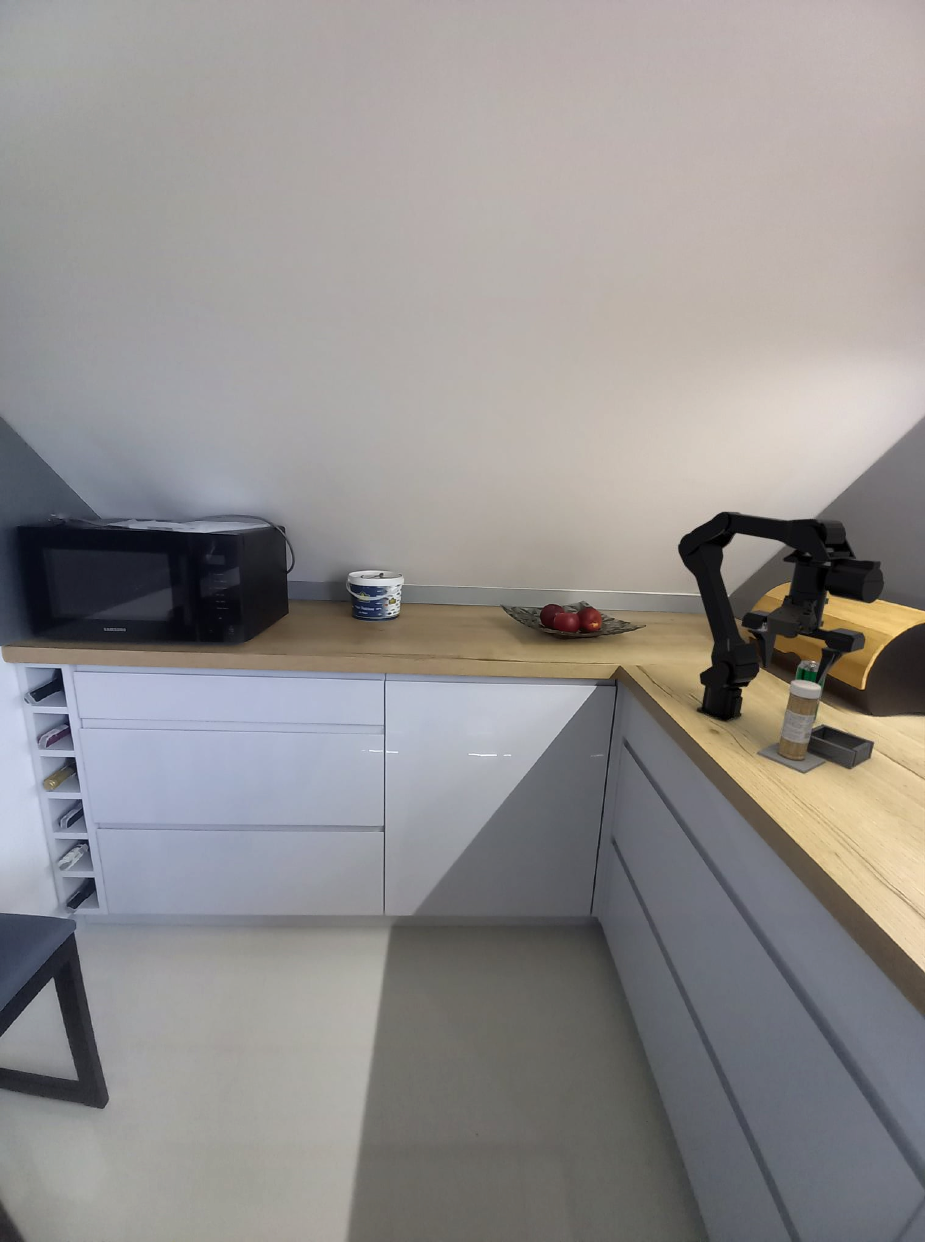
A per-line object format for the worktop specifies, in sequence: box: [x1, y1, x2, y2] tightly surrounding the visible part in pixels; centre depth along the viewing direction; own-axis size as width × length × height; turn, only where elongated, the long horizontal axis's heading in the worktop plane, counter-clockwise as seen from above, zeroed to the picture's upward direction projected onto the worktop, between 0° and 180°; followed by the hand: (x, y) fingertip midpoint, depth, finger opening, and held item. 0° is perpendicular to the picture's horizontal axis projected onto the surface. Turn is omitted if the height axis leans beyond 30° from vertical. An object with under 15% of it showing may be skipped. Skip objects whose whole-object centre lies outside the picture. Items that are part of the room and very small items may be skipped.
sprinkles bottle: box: [777, 679, 822, 760], centre depth 98 cm, size 5×5×13 cm
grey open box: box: [806, 723, 875, 770], centre depth 102 cm, size 9×9×3 cm
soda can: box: [794, 660, 827, 722], centre depth 116 cm, size 5×5×12 cm
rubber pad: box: [756, 742, 827, 774], centre depth 100 cm, size 8×8×1 cm
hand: (790, 675), depth 103 cm, fingers open, 9 cm apart
